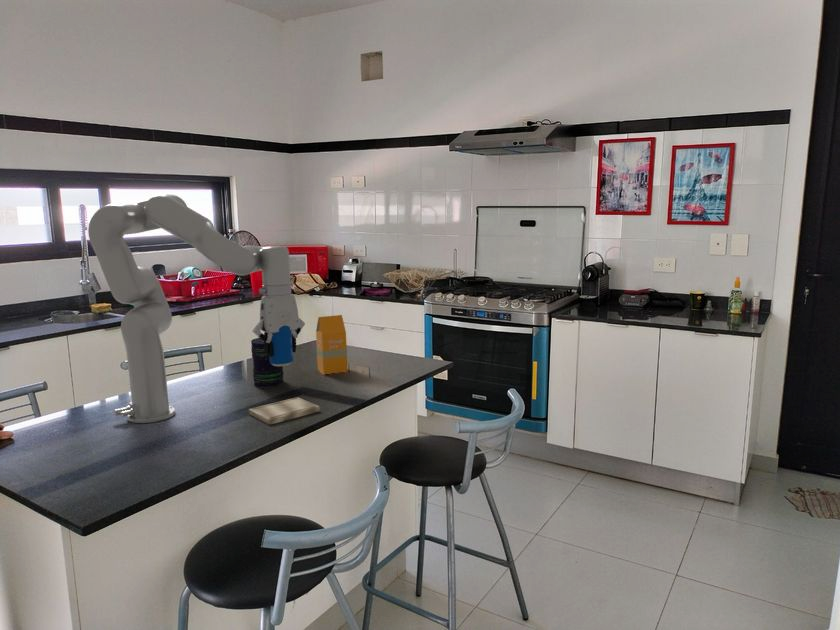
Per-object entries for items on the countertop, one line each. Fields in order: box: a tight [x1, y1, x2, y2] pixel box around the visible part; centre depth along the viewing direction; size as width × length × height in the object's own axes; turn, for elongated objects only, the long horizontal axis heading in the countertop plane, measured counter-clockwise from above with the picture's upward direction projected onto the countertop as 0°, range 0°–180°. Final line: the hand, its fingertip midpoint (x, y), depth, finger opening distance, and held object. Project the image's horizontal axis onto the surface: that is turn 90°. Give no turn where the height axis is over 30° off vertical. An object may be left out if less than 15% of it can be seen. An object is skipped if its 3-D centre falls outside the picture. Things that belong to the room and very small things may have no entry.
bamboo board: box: [248, 396, 320, 426], centre depth 179 cm, size 16×12×2 cm
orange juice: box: [315, 314, 348, 376], centre depth 220 cm, size 8×9×20 cm
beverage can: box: [269, 324, 294, 367], centre depth 175 cm, size 6×6×12 cm
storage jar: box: [250, 337, 284, 388], centre depth 207 cm, size 10×10×15 cm
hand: (281, 353), depth 176 cm, fingers closed on beverage can, 6 cm apart
